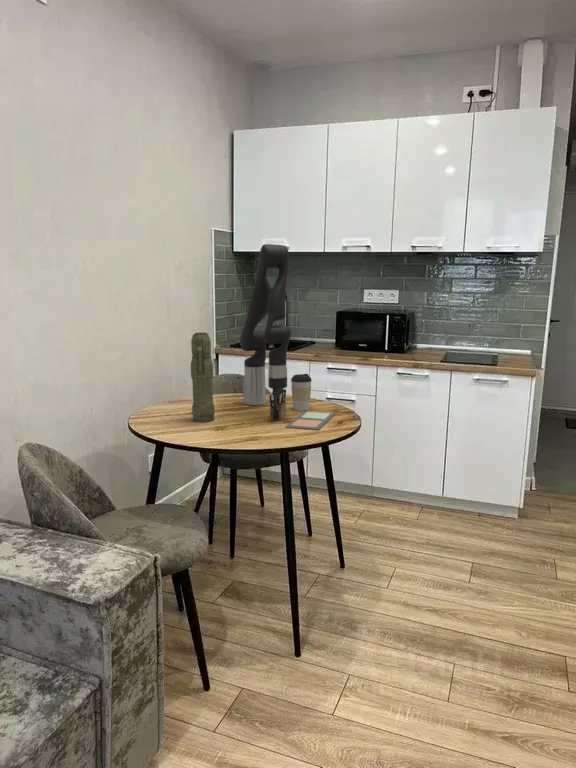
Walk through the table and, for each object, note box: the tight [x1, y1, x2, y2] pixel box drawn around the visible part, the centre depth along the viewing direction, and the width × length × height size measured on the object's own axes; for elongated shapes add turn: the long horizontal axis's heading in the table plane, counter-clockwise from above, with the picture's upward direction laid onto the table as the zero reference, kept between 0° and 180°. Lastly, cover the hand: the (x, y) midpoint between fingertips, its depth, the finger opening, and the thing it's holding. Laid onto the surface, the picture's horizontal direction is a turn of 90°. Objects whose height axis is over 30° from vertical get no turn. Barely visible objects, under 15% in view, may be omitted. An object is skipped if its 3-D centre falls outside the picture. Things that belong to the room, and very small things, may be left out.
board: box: [285, 410, 336, 431], centre depth 229 cm, size 13×26×1 cm, turn 162°
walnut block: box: [269, 402, 287, 421], centre depth 233 cm, size 5×5×6 cm
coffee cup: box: [290, 373, 312, 412], centre depth 249 cm, size 9×9×15 cm
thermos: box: [190, 332, 216, 423], centre depth 229 cm, size 9×12×35 cm
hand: (278, 416), depth 234 cm, fingers closed on walnut block, 5 cm apart
